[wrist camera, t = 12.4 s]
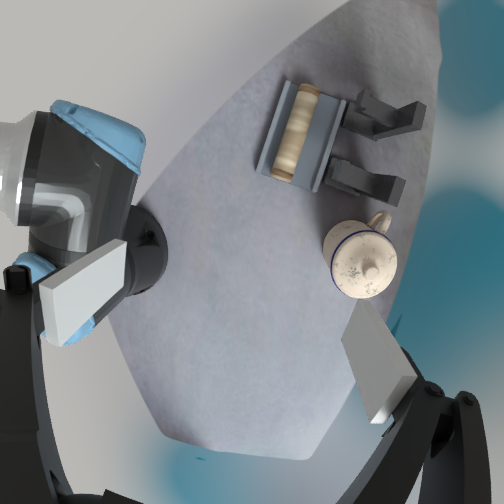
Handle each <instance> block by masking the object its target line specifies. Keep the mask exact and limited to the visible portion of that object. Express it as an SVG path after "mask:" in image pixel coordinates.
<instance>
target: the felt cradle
mask: <svg viewBox="0 0 504 504" xmlns="http://www.w3.org/2000/svg"><path fill="white" fill-rule="evenodd" d="M298 88H299V86H298V85H295V84H292V83H291V81H288V80H286V82H285V85H284V88H283V91H282V94H281V97H280V100H279V103H278V106H277V109H276V112H275V114H274V117H273V120H272V123H271V126H270V129H269V132H268V135H267V139H266V142H265V145H264V148H263V151H262V154H261V157H260V160H259V163H258V166H257V169H256V172H255V173H258V174H262V175H265V176H268V177H271V176H270V172H271V169H272V167H273V164H274V161H275V158H276V155H277V152H278V149H279V146H280V143H281V140H282V137H283V134H284V131H285V128H286V125H287V122H288V119H289V117H290V114H291V111H292V108H293V105H294V102H295V99H296V96H297V93H298V92H297V91H298ZM345 105H346V101H345V100H341V101H340V100H338V99H335V98H332V97H330V96H327V95H324V94H322V93H320V97H319V99H318V102H317V105H316V108H315V111H314V114H313V117H312V120H311V123H310V126H309V129H308V132H307V135H306V138H305V141H304V144H303V147H302V150H301V153H300V156H299V159H298V162H297V165H296V168H295V171H294V174H293V178H292V180H291V183H289V182H287V183H289V184H292V185H295V186H298V187H301V188H304V189H307V190H310V191H312V192H314V193H317V190H318V187H319V185H320V182H321V179H322V176H323V173H324V170H325V167H326V164H327V161H328V158H329V155H330V152H331V149H332V146H333V143H334V140H335V136H336V133H337V130H338V127H339V124H340V121H341V118H342V114H343V111H344V108H345ZM272 178H274V177H272ZM275 179H277V178H275ZM278 180H280V179H278ZM281 181H283V180H281ZM284 182H286V181H284Z"/></svg>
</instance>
